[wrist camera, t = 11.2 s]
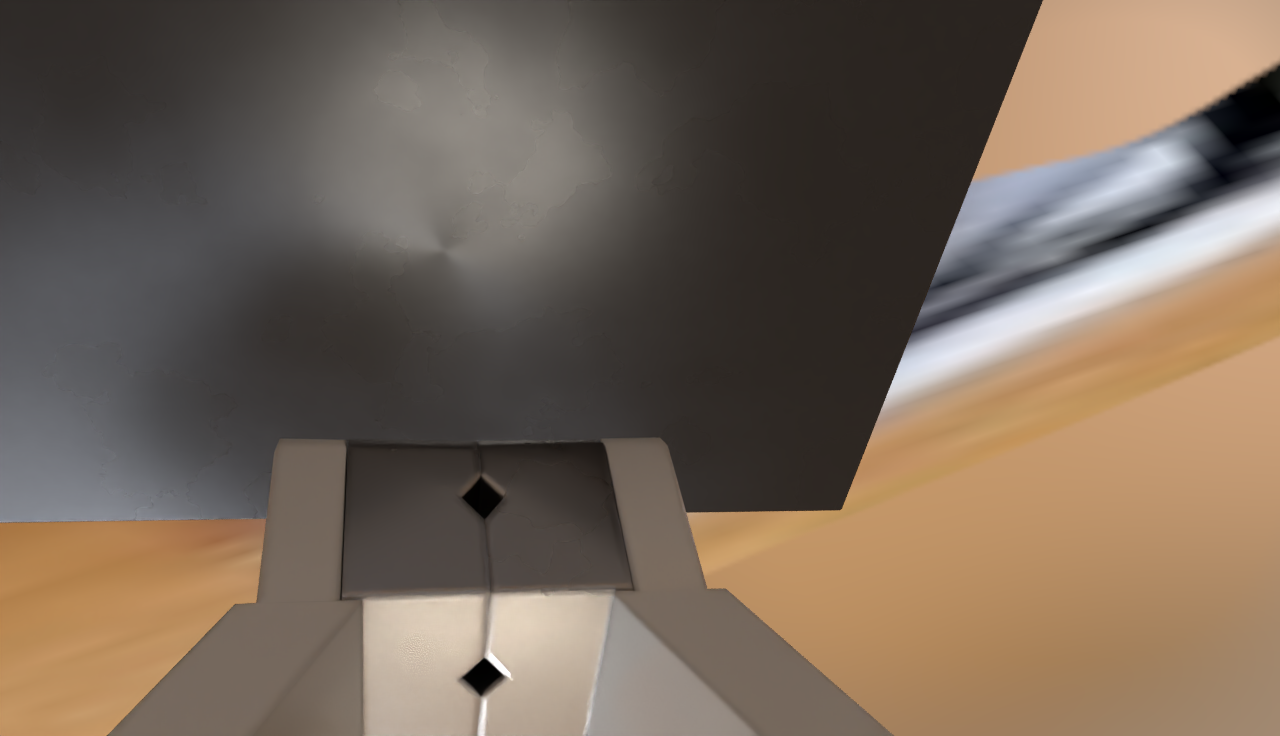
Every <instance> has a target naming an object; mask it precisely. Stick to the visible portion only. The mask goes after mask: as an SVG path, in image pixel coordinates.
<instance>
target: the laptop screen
mask: <svg viewBox="0 0 1280 736" xmlns="http://www.w3.org/2000/svg"><path fill="white" fill-rule="evenodd" d="M1042 1H1043V0H0V523H11V522H79V521H146V520H213V519H266V518H267V509H268V501H269V492H270V484H271V475H272V467H273V458H274V452H275V449H276V447H277V444H278V442H279V440H280V439H328V440H346V441H347V444H348V443H349V439H394V440H445V441H519V440H597V441H599V440H600V439H610V438H659V437H660V438H661V439H662V440H663V441H664V442H665V443H666V444H667V446H668V449H669V453H670V456H671V460H672V463H673V467H674V471H675V474H676V478H677V481H678V485H679V489H680V492H681V496H682V499H683V503H684V507H685V510H686V512H752V511H819V510H841V509H842V507H843V504H844V502H845V499H846V497H847V494H848V492H849V489H850V487H851V484H852V482H853V479H854V477H855V474H856V471H857V469H858V466H859V464H860V461H861V459H862V456H863V454H864V451H865V449H866V446H867V444H868V441H869V439H870V436H871V434H872V431H873V428H874V426H875V423H876V421H877V418H878V416H879V413H880V411H881V408H882V406H883V403H884V401H885V398H886V396H887V393H888V391H889V388H890V386H891V383H892V380H893V378H894V375H895V373H896V370H897V368H898V365H899V363H900V360H901V358H902V355H903V353H904V350H905V348H906V345H907V343H908V340H909V337H910V335H911V332H912V330H913V327H914V325H915V322H916V320H917V317H918V315H919V312H920V310H921V307H922V305H923V302H924V300H925V297H926V295H927V292H928V289H929V287H930V284H931V282H932V279H933V277H934V274H935V272H936V269H937V267H938V264H939V262H940V259H941V257H942V254H943V252H944V249H945V246H946V244H947V241H948V239H949V236H950V234H951V231H952V229H953V226H954V224H955V221H956V219H957V216H958V214H959V211H960V209H961V206H962V204H963V201H964V198H965V196H966V193H967V191H968V188H969V186H970V183H971V181H972V178H973V176H974V173H975V171H976V168H977V166H978V163H979V161H980V158H981V155H982V153H983V150H984V148H985V145H986V143H987V140H988V138H989V135H990V133H991V130H992V128H993V125H994V123H995V120H996V117H997V115H998V113H999V110H1000V107H1001V105H1002V102H1003V100H1004V97H1005V95H1006V92H1007V90H1008V87H1009V85H1010V82H1011V79H1012V77H1013V75H1014V72H1015V69H1016V67H1017V64H1018V62H1019V59H1020V57H1021V54H1022V52H1023V49H1024V47H1025V44H1026V42H1027V39H1028V37H1029V34H1030V31H1031V29H1032V26H1033V24H1034V22H1035V19H1036V16H1037V14H1038V11H1039V9H1040V6H1041V4H1042Z"/></svg>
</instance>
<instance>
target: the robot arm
mask: <svg viewBox="0 0 1280 736" xmlns="http://www.w3.org/2000/svg"><path fill="white" fill-rule="evenodd" d="M107 736H894V735H893V734H891V733H890V732H889V731H888V730H887V729H886V728H885V727H883V726H882V725H881V724H880V723H879V722H878V721H876V720H875V719H874V718H873V717H872V716H871V715H870V714H868V713H867V712H866V711H865V710H864V709H863V708H862V707H860V706H859V705H858V704H857V703H856V702H855V701H854V700H852V699H851V698H850V697H849V696H848V695H846V693H844V692H843V691H842V690H841V689H840V688H839V687H837V686H836V685H835V684H834V683H833V682H832V681H831V680H829V679H828V678H827V677H826V676H825V675H824V674H823V673H822V672H820V671H819V670H818V669H817V668H816V667H815V666H814V665H812V664H811V663H810V662H809V661H808V660H807V659H806V658H804V657H803V656H802V655H801V654H800V653H799V652H798V651H796V650H795V649H794V648H793V647H792V646H791V645H790V644H788V643H787V642H786V641H785V640H784V639H783V638H782V637H780V636H779V635H778V634H777V633H776V632H775V631H774V630H772V629H771V628H770V627H769V626H768V625H767V624H765V623H764V622H763V621H762V620H761V619H760V618H759V617H757V616H756V615H755V614H754V613H753V612H752V611H751V610H750V609H748V608H747V607H746V606H745V605H744V604H743V603H742V602H740V601H739V600H738V599H737V598H736V597H735V596H734V595H732V594H731V593H730V592H729V591H728V590H727V589H707V586H706V582H705V579H704V575H703V571H702V568H701V564H700V561H699V557H698V553H697V550H696V546H695V543H694V539H693V535H692V532H691V528H690V525H689V521H688V517H687V514H686V510H685V507H684V503H683V499H682V496H681V492H680V489H679V485H678V481H677V478H676V474H675V471H674V467H673V463H672V460H671V456H670V453H669V449H668V446H667V444H666V443H665V442H664V441H663V440H662V439H661V438H660V437H659V438H610V439H600V440H599V441H597V440H519V441H445V440H394V439H349V443H348V444H347V441H346V440H328V439H280V440H279V442H278V444H277V447H276V449H275V452H274V458H273V467H272V475H271V484H270V492H269V501H268V509H267V518H266V526H265V535H264V543H263V551H262V560H261V568H260V577H259V585H258V594H257V602H256V603H248V604H235V605H234V606H233V607H232V608H231V609H230V610H229V611H228V612H227V613H226V614H225V615H224V616H223V617H222V618H221V619H220V620H219V621H218V622H217V623H216V624H215V625H214V626H213V627H212V628H211V629H210V630H209V631H208V632H207V633H206V634H205V636H204V637H203V638H202V639H201V640H200V641H199V642H198V643H197V644H196V645H195V646H194V647H193V648H192V649H191V650H190V651H189V652H188V653H187V654H186V655H185V656H184V657H183V658H182V659H181V660H180V661H179V662H178V663H177V664H176V665H175V666H174V667H173V668H172V669H171V670H170V671H169V672H168V674H167V675H166V676H165V677H164V678H163V679H162V680H161V681H160V682H159V683H158V684H157V685H156V686H155V687H154V688H153V689H152V690H151V691H150V692H149V693H148V694H147V695H146V696H145V697H144V698H143V699H142V700H141V701H140V702H139V703H138V704H137V705H136V706H135V707H134V708H133V709H132V710H131V712H130V713H129V714H128V715H127V716H126V717H125V718H124V719H123V720H122V721H121V722H120V723H119V724H118V725H117V726H116V727H115V728H114V729H113V730H112V731H111V732H110V733H109V734H108V735H107Z"/></svg>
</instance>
